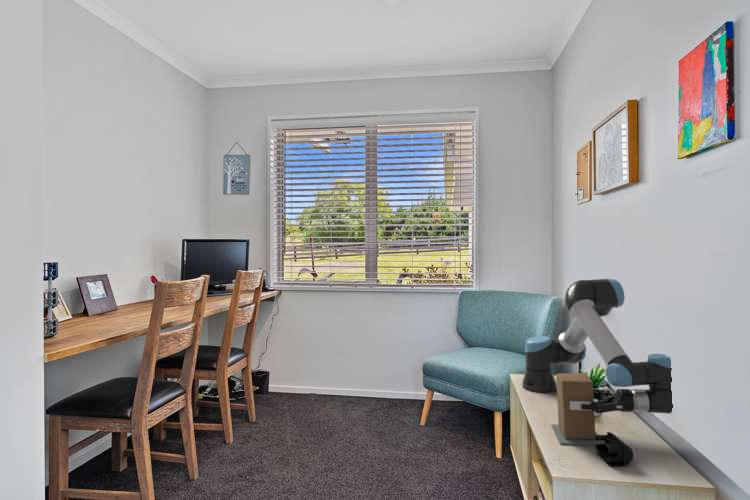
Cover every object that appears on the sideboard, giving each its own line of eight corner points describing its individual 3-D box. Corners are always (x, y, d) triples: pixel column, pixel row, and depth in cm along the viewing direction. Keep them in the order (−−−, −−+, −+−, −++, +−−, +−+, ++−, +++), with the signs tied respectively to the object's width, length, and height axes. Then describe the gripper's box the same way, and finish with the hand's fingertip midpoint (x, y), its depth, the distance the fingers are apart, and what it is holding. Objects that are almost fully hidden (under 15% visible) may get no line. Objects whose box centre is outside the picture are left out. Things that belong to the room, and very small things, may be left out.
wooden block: (596, 440, 153) (593, 381, 153) (564, 439, 155) (562, 381, 155) (587, 428, 163) (585, 373, 163) (558, 427, 164) (555, 373, 164)
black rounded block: (634, 467, 135) (633, 445, 135) (610, 468, 136) (609, 445, 136) (617, 452, 145) (616, 431, 145) (595, 452, 146) (594, 431, 146)
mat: (551, 425, 168) (551, 424, 168) (591, 427, 165) (591, 425, 165) (560, 444, 152) (560, 442, 152) (605, 446, 149) (605, 444, 149)
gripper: (645, 425, 143) (574, 422, 147) (619, 399, 167) (558, 397, 171) (645, 402, 143) (573, 399, 147) (618, 378, 167) (558, 377, 171)
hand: (565, 398), depth 159 cm, fingers open, 13 cm apart
